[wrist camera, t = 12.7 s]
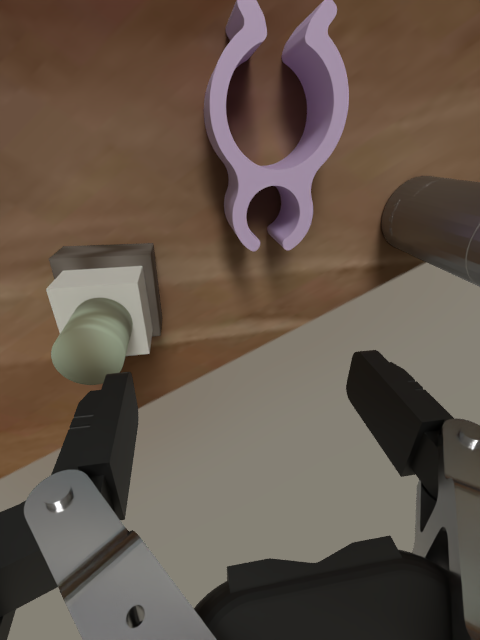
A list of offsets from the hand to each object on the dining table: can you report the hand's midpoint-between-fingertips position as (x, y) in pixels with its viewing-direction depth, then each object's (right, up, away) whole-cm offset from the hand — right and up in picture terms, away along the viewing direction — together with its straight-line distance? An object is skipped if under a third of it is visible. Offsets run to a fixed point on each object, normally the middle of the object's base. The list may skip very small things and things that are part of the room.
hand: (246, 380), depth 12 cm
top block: (-15, +4, +24) cm, 29 cm away
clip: (+2, +22, +24) cm, 32 cm away
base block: (-16, +7, +28) cm, 33 cm away
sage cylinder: (-14, +2, +20) cm, 24 cm away
